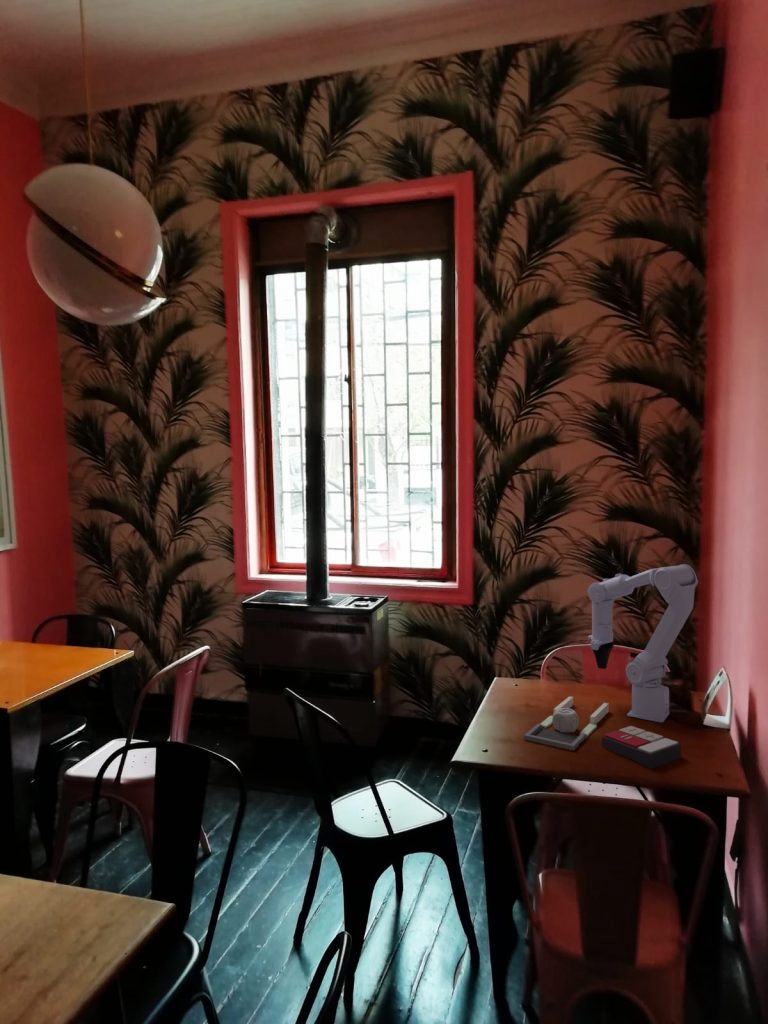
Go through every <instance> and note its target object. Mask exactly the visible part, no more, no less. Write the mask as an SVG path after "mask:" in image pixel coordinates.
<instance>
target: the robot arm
mask: <svg viewBox="0 0 768 1024" xmlns="http://www.w3.org/2000/svg"><path fill="white" fill-rule="evenodd" d="M649 584H650V585H652V587H656V588H657V590H658V591H659V593H660V594H661V596H662V598H663V599H664V600H665V602H666V603H667V604H668V606H667V608H666V610H665V612H664V613H663V615H662V616H661V619H660V621H659V623H658V625H657V626H656V628H655V630H654V632H653V633H652V635H651V637H650V640H649V641H648V643H647V644H646V647H645V648H644V650H643V651H641V652H640V653H638V654H637V656H635V658H634V659H633V661H631V662H629V663H628V664H627V666H626V668H625V674H626V677H627V679H628V681H629V682H630V684H631V709H630V710H629V712H627V714H626V716H627V717H630V718H631V717H632V718H637V719H640V720H641V719H642V720H645V721H646V720H647V721H652V722H657V723H664V722H665V720H666V719H667V718H668V716H669V715H670V689H669V687H668V686H666V685H665V686H664V685H663V684H661V683H662V679H663V678H664V677H665V675H666V672H667V669H666V667H667V665H668V664H669V661H668V659H667V657H666V656H667V655H668V653H669V651H670V650H671V648H672V646H673V645H674V643H675V641H676V639H677V637H678V635H679V633H680V632H681V630H682V629H683V627H684V625H685V623H686V621H687V620H688V618H689V617H690V614H691V612H692V611H693V609H694V604H695V602H694V601H695V592H696V587H697V585H698V584H699V580H698V577H697V575H696V572H695V570H694V568H693V567H691V566H690V565H689V564H687V563H686V564H685V563H683V564H679V565H670V566H663V567H658V568H657V567H656V568H650V569H648V570H646V571H643V572H640V573H638V574H635V575H632V576H629V575H628V574H623V573H617V574H614V577H612V578H604V579H602V581H601V582H600V581H599V582H593V583H592V584H590V585H589V586H588V588H587V595H588V598H589V600H590V601H591V634H590V635H588V636H587V639H588V640H591V642H590V650H592V652H593V654H594V657H595V663H596V666H597V668H598V669H601V670H602V669H603V670H606V669H607V667H608V662H609V658H610V654H611V652H612V650H613V648H614V643H612V642H613V641H614V631H613V624H614V623H613V616H614V615H613V607H614V605H615V599H618V598H622V597H626V596H628V595H631V594H632V593H633V592H634V590H635V588H639V587H642V586H645V585H649Z"/></svg>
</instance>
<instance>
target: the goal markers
mask: <svg viewBox="0 0 768 1024" xmlns="http://www.w3.org/2000/svg"><path fill="white" fill-rule="evenodd" d="M552 718H553V715H549V716H548V717H547V718H546V719H544V720H543V721H542V722H541V723H540V724H542V728H543V727H544V728H543V729H548V728H549V727H550V726H551V725H553V722H552ZM547 727H548V728H547ZM597 728H598V725H597V724H596V725H594V724H590V723H588V724H587V725H586V726H585V727H584V728H583V729H582V730H581V731H580V732H579V736H580V735H581V734H582V733H585V734H586V738H588V737H589V736H590V735H591V734H592V733H593V732H594V731H595V730H596V729H597Z"/></svg>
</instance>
